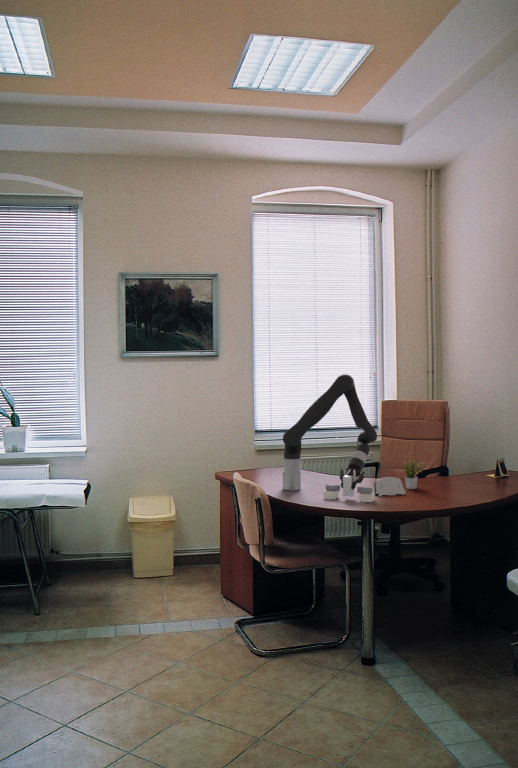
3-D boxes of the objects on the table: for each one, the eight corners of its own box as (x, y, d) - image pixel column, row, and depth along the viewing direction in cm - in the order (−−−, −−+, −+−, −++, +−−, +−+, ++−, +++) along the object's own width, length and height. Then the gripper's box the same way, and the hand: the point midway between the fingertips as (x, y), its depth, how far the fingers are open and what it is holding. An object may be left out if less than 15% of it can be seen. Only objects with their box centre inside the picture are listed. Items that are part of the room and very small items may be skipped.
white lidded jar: (323, 498, 346) (323, 485, 345) (327, 496, 351) (327, 483, 351) (337, 500, 343) (337, 486, 342) (341, 497, 348) (341, 484, 348)
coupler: (343, 496, 342) (343, 476, 342) (345, 494, 346) (345, 475, 346) (351, 496, 340) (351, 477, 340) (354, 495, 344) (354, 475, 344)
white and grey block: (356, 501, 338) (356, 487, 338) (359, 499, 344) (359, 485, 343) (370, 503, 335) (370, 489, 335) (374, 500, 340) (374, 486, 340)
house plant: (425, 491, 363) (425, 461, 362) (399, 490, 365) (399, 460, 365) (424, 486, 377) (424, 457, 376) (399, 485, 379) (399, 457, 379)
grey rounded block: (378, 496, 351) (375, 477, 354) (374, 497, 355) (371, 479, 358) (406, 493, 357) (402, 475, 359) (401, 495, 361) (398, 476, 364)
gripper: (343, 455, 353) (332, 482, 343) (367, 458, 344) (357, 485, 335) (348, 464, 357) (337, 490, 348) (372, 466, 349) (362, 493, 339)
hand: (347, 487), depth 341 cm, fingers closed on coupler, 5 cm apart
